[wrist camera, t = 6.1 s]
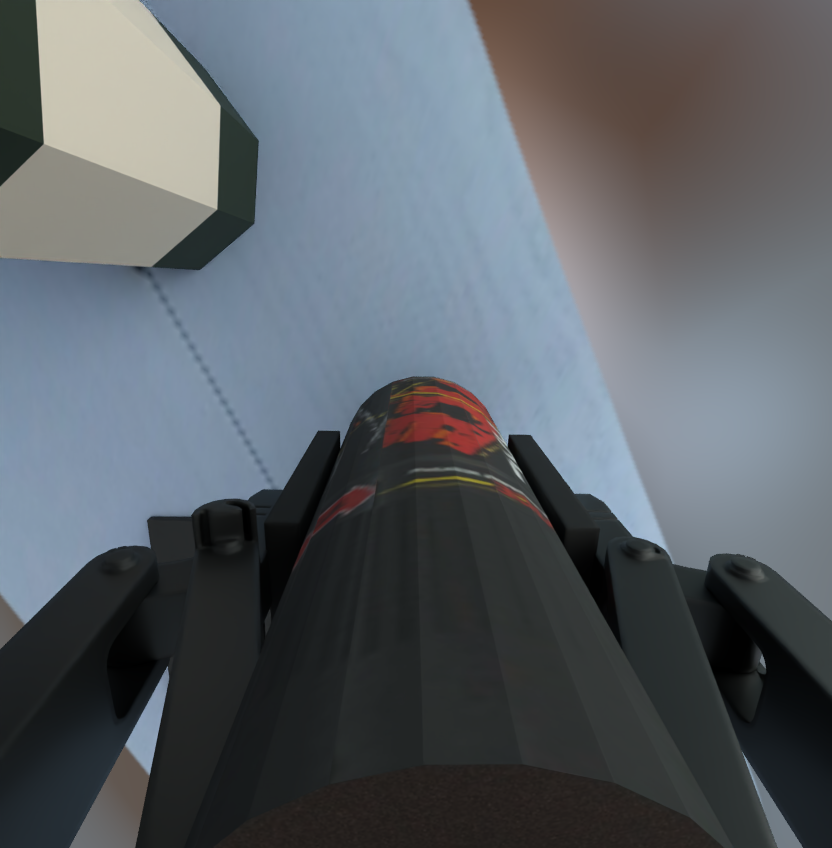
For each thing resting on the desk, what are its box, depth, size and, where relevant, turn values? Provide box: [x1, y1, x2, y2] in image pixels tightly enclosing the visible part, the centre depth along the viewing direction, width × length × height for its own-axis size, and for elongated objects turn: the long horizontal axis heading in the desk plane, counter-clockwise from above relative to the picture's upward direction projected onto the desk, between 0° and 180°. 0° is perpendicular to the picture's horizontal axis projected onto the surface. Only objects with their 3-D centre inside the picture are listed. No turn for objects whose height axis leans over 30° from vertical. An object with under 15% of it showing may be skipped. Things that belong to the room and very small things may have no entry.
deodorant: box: [184, 377, 734, 848], centre depth 12 cm, size 6×6×15 cm
